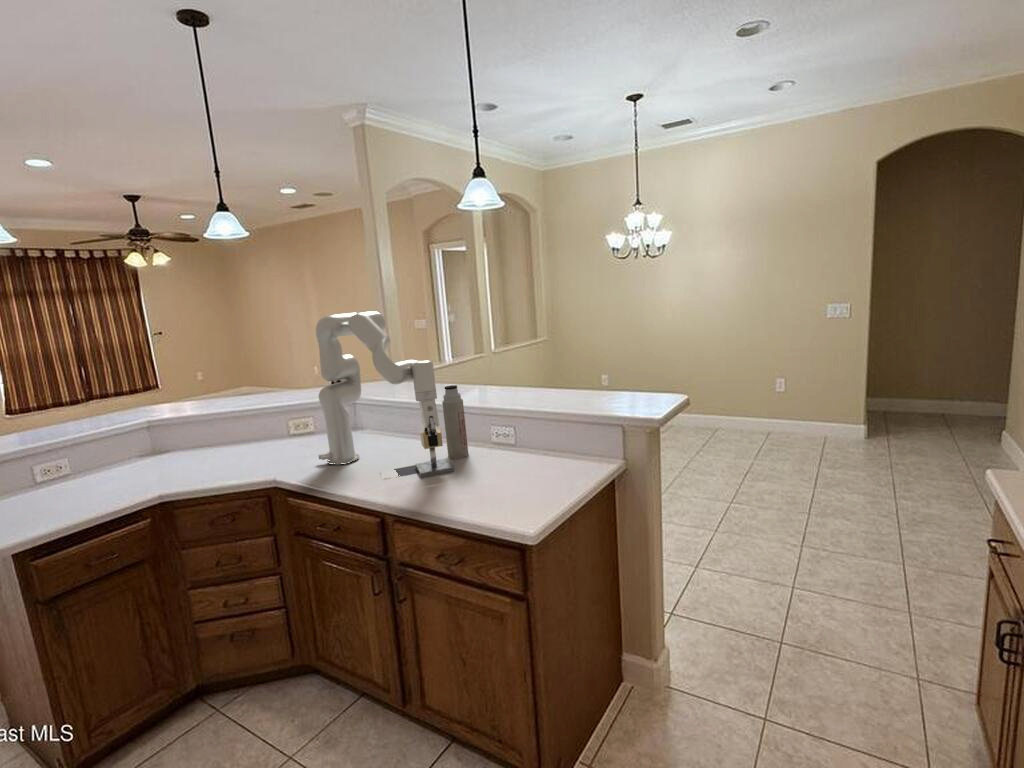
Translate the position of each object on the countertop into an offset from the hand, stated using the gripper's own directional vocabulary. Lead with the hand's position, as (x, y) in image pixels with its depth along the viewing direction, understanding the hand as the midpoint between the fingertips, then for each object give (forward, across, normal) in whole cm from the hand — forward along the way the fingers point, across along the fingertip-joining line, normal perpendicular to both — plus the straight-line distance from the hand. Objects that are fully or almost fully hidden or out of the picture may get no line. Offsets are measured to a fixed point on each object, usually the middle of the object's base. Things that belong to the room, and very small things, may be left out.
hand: (431, 443), depth 192 cm
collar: (+1, 0, 0) cm, 1 cm away
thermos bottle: (+11, +13, -12) cm, 21 cm away
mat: (+10, +5, +12) cm, 17 cm away
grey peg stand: (+10, 0, 0) cm, 10 cm away
